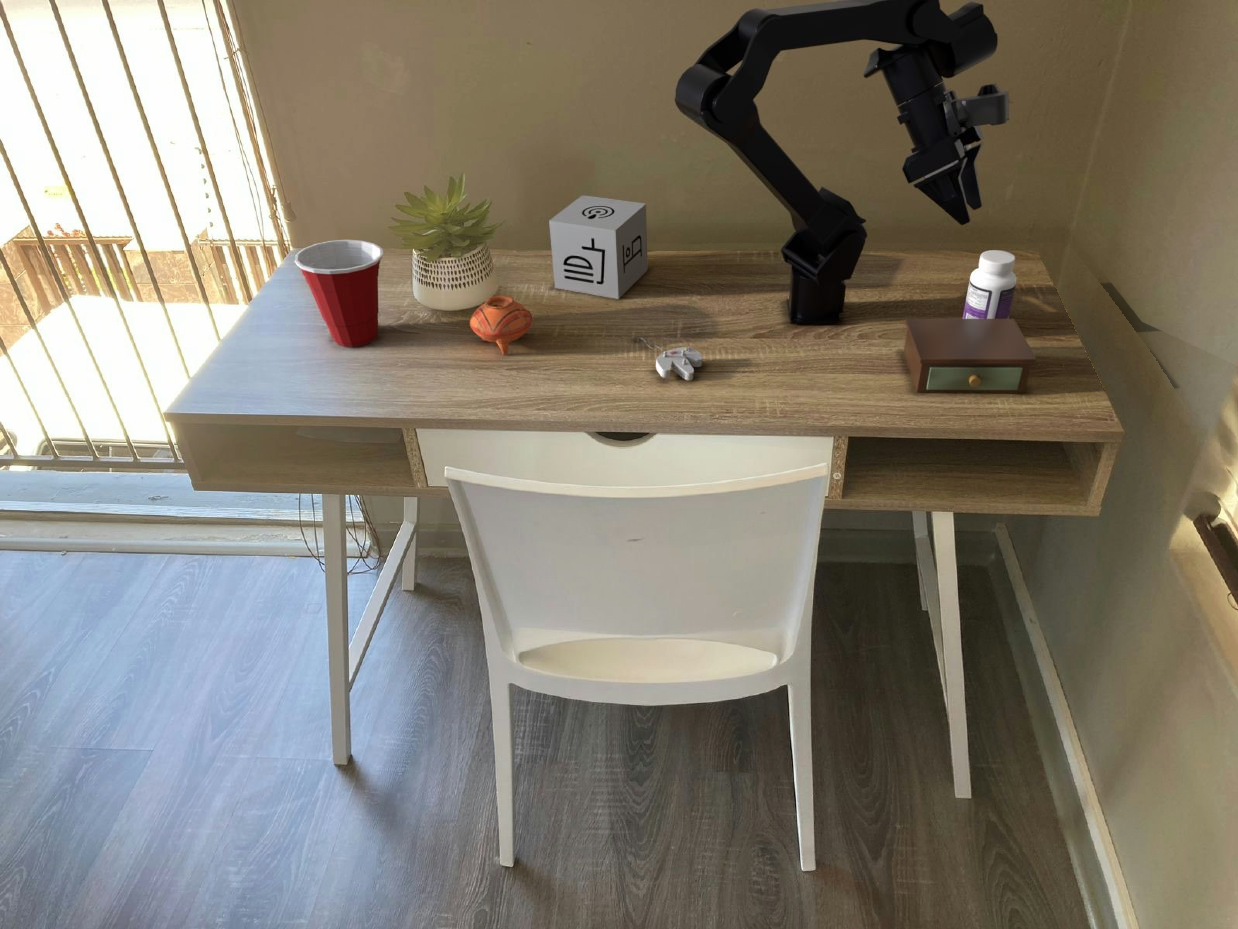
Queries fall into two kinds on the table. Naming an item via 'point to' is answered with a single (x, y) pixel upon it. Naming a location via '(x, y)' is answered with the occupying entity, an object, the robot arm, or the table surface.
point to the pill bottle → (991, 287)
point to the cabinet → (967, 355)
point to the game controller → (678, 362)
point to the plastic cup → (344, 287)
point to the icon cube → (599, 246)
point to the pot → (501, 321)
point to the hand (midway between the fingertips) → (972, 215)
